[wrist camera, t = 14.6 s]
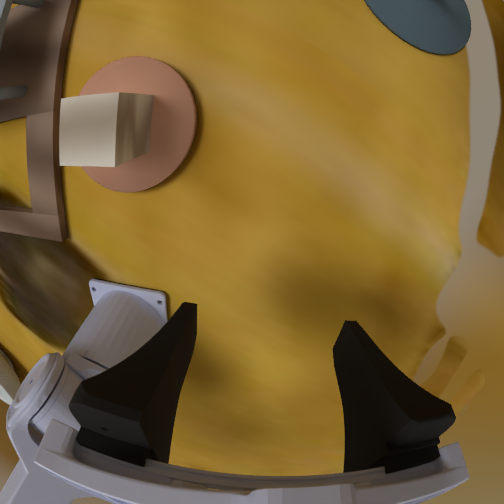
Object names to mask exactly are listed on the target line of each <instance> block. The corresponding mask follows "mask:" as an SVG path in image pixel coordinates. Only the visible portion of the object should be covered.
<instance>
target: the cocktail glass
mask: <svg viewBox="0 0 504 504" xmlns="http://www.w3.org/2000/svg"><path fill="white" fill-rule="evenodd" d="M364 1H365V2H366V4H367V5H368V7H369V8H370V9H371V11H372V12H373V13H374V14H375V15H376V17H377V18H378V19H379V20H380V21H381V22H382V23H383V24H384V25H385V26H386V27H387V28H388V29H389V30H391V31H392V32H393V33H394V34H396V35H397V36H398V37H400V38H401V39H403V40H404V41H406V42H407V43H409V44H410V45H413V46H415V47H417V48H418V49H421V50H424V51H426V52H429V53H434V54H445V55H446V54H452V53H455V52H457V51H459V50H461V49H462V48H463V47H464V46H465V45H466V43H467V42H468V39H469V37H470V32H471V20H470V14H469V11H468V8H467V5H466V3H465V1H464V0H364Z"/></svg>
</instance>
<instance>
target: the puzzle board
mask: <svg viewBox="0 0 504 504" xmlns="http://www.w3.org/2000/svg"><path fill="white" fill-rule="evenodd" d="M77 3H78V0H44V1H43V3H42V5H41V6H40V7H39V8H34V7H29V6H24V5H17V6H16V7H14V8H12V9H10V11H9V15H8V18H7V22H6V26H5V30H4V34H3V39H2V43H1V48H0V88H3V87H13V86H26V94H25V95H24V96H23V97H17V98H9V99H3V100H0V122H3V121H7V120H12V119H16V118H20V117H25V116H27V120H26V144H27V166H28V179H29V189H30V197H31V205H32V208H21V207H9V206H0V231H3V232H9V233H15V234H20V235H26V236H32V237H38V238H43V239H49V240H55V241H61V242H62V241H64V240H65V239H66V238H67V237H68V234H67V227H66V220H65V213H64V204H63V194H62V182H61V166H60V159H59V127H60V106H61V96H62V85H63V76H64V68H65V60H66V54H67V48H68V42H69V37H70V32H71V27H72V23H73V19H74V15H75V11H76V7H77Z"/></svg>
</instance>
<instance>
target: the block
mask: <svg viewBox="0 0 504 504" xmlns="http://www.w3.org/2000/svg"><path fill="white" fill-rule="evenodd" d="M153 99H154V95H149V94H138V93H123V92H116V93H103V94H92V95H84V96H76V97H68V98H62V99H61V106H60V127H59V159H60V166H98V167H116V166H119V165H121V164H123V163H125V162H127V161H129V160H132V159H134V158H136V157H139V156H141V155H143V154H146V153H148V152H149V145H150V131H151V119H152V108H153Z"/></svg>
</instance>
